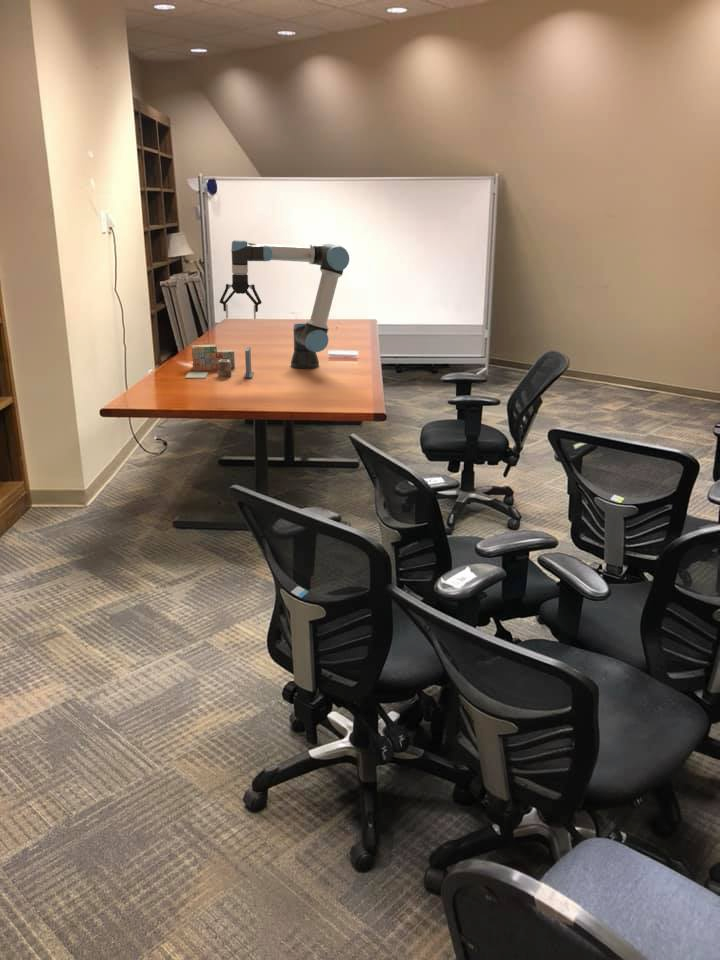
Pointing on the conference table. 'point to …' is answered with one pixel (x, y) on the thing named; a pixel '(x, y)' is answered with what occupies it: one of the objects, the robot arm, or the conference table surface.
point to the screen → (248, 364)
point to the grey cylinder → (224, 368)
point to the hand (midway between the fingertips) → (240, 318)
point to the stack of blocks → (210, 357)
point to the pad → (197, 375)
